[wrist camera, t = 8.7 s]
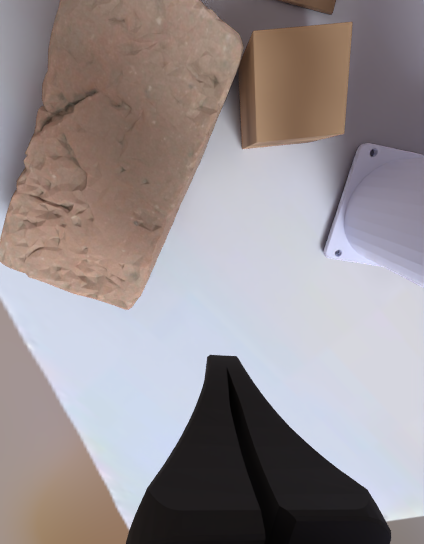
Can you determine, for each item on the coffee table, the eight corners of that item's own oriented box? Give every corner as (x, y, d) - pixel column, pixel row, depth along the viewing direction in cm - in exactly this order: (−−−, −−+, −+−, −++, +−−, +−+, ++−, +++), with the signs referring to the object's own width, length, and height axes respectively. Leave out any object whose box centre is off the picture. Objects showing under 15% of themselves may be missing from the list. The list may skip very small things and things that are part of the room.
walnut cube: (311, 60, 16) (352, 21, 12) (308, 142, 18) (344, 133, 14) (237, 67, 16) (253, 31, 12) (241, 149, 18) (256, 142, 13)
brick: (107, -24, 14) (68, -108, 10) (243, 62, 16) (260, 22, 12) (35, 245, 19) (-12, 267, 15) (144, 288, 21) (131, 320, 17)
